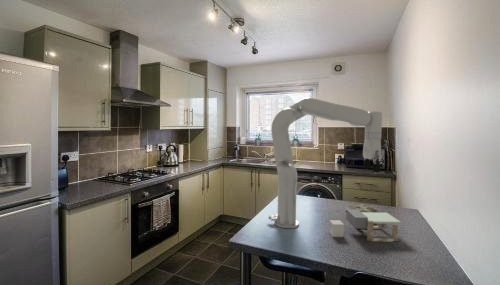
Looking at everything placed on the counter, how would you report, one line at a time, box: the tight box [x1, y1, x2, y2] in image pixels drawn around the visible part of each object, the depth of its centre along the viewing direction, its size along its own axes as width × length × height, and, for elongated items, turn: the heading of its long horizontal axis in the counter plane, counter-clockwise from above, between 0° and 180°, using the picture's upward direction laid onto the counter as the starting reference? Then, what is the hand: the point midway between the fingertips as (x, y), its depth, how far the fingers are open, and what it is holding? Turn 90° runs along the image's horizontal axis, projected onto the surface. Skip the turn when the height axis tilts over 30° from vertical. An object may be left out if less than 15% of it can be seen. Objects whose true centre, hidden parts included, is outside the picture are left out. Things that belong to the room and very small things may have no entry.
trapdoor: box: [345, 208, 402, 229], centre depth 119 cm, size 20×12×5 cm, turn 89°
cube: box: [328, 219, 345, 238], centre depth 119 cm, size 5×5×6 cm
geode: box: [346, 203, 380, 213], centre depth 141 cm, size 17×9×15 cm
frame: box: [355, 210, 399, 243], centre depth 119 cm, size 13×15×9 cm
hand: (371, 170), depth 127 cm, fingers open, 9 cm apart
